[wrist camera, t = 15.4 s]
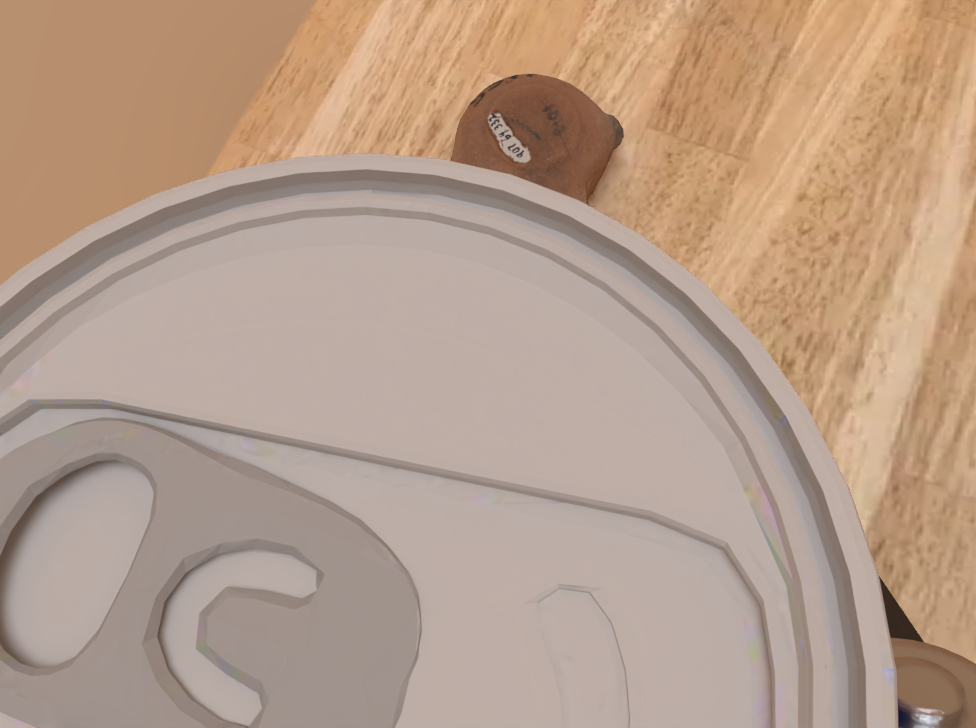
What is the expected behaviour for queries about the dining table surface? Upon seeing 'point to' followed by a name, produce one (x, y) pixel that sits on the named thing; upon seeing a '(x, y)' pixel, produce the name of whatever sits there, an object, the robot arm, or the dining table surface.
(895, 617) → the robot arm
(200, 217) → the beverage can
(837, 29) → the dining table surface
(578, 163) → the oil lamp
